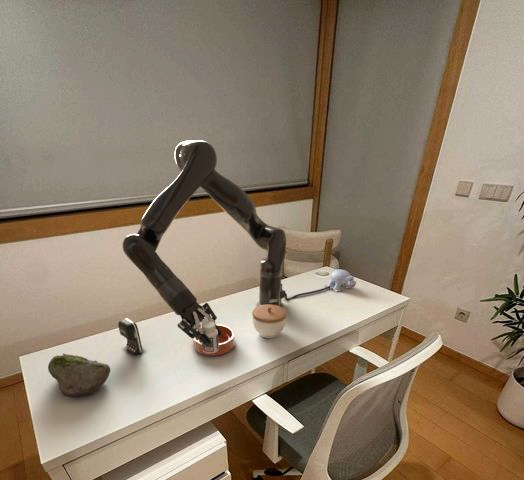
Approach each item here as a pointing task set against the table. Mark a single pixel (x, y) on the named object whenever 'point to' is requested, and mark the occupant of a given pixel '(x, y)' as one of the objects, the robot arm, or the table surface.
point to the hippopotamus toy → (341, 279)
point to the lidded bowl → (269, 320)
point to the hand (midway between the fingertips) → (214, 339)
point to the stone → (78, 374)
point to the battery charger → (131, 335)
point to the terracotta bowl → (224, 341)
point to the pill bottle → (210, 337)
